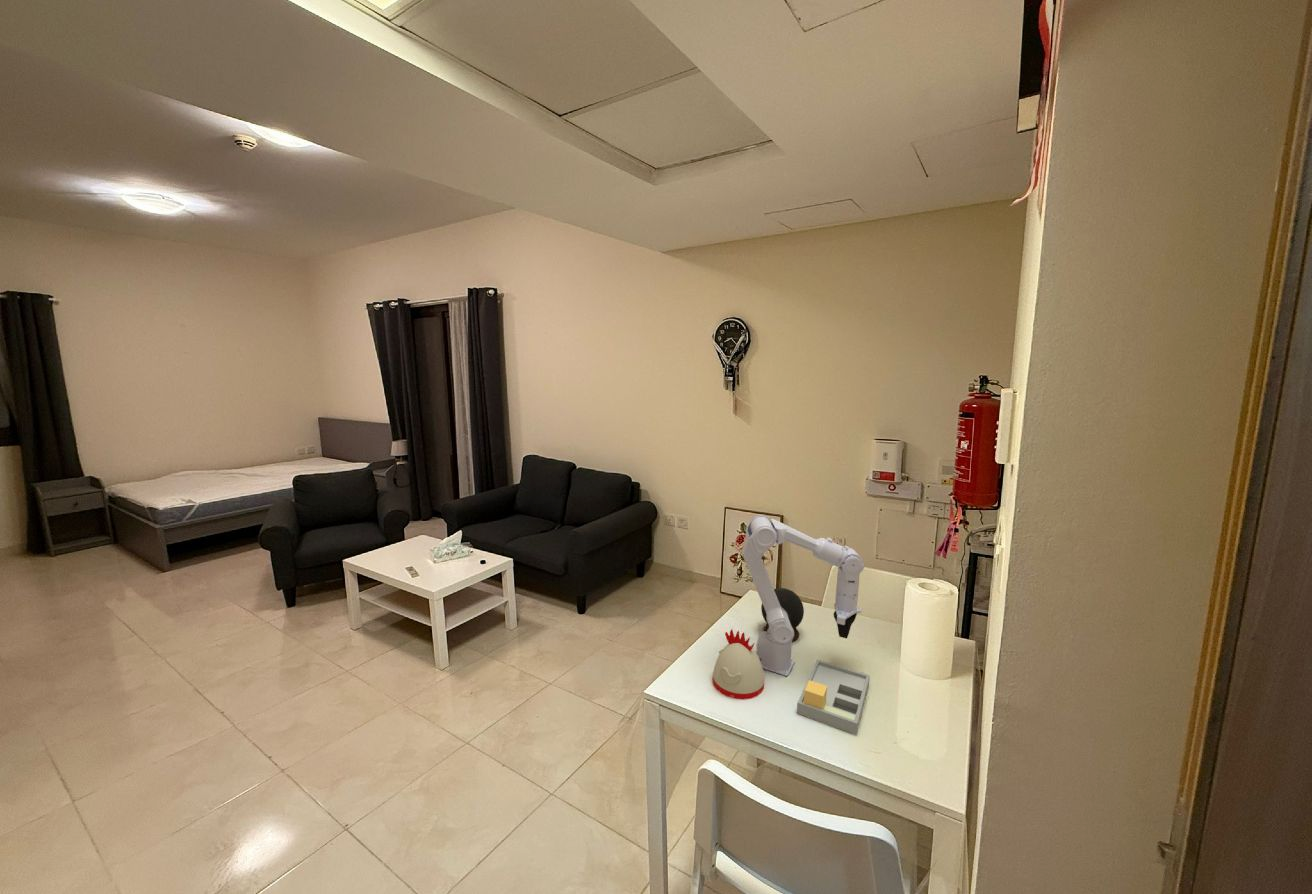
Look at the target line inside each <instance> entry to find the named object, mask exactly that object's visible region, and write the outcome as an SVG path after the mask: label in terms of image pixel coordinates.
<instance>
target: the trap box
mask: <svg viewBox="0 0 1312 894" xmlns="http://www.w3.org/2000/svg"><path fill="white" fill-rule="evenodd" d="M870 676H871V675H870V674H866V673H864V672H859V671H858V670H857V671H856V670H853V669H850V668H848V667H844V666H840V665H836V664H833V663H830V662H828V661H824V660H821V659H818V658H817V659H816V661H815V662H814V665H813V667H812V669H811V671H810V674H809V677H808V678H807V681H806V683H805V685H804V688H803V690H802V691H801V694H800V696H799V699H798V701H797V702H796V703H797V707H796V714H797V715H800V716H802V717H805V718H808V719H811V720H814V721H817V722H819V723H822V724H825V725H828V726H829V727H830V726H831V727H833V728H835V729H836V728H837V729H839V730H842V731H844V732H847V733H850V734H852V735H855V736H856V735H858V734H857V733H858V730H859V726H860V722H861V719H862V714H863V711H864V706H865V703H866V698H867V695H868V690H869V687H870V678H871V677H870ZM809 680H810V681H813V682H816V683H819V684H823V685H826V686H827V696H826V704H825V706H824V709H820V708H817V707H815V706H812V705H809V704H806V703H804V692H805V688H806V686H807V684H808V681H809Z"/></svg>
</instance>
